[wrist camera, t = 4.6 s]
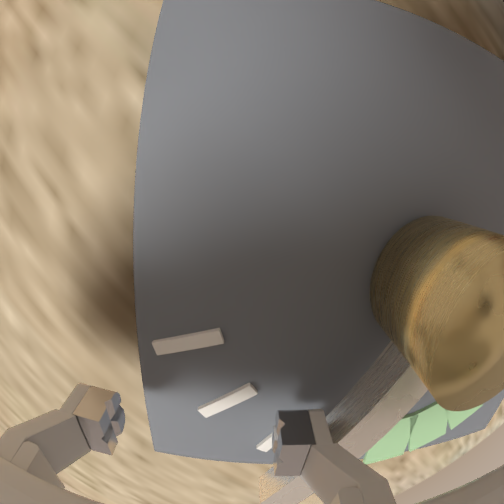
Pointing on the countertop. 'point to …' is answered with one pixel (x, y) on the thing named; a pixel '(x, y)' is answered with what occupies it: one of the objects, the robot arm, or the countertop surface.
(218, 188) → the dial board
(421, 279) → the tuner knob with pointer
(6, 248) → the countertop surface
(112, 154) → the countertop surface
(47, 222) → the countertop surface
